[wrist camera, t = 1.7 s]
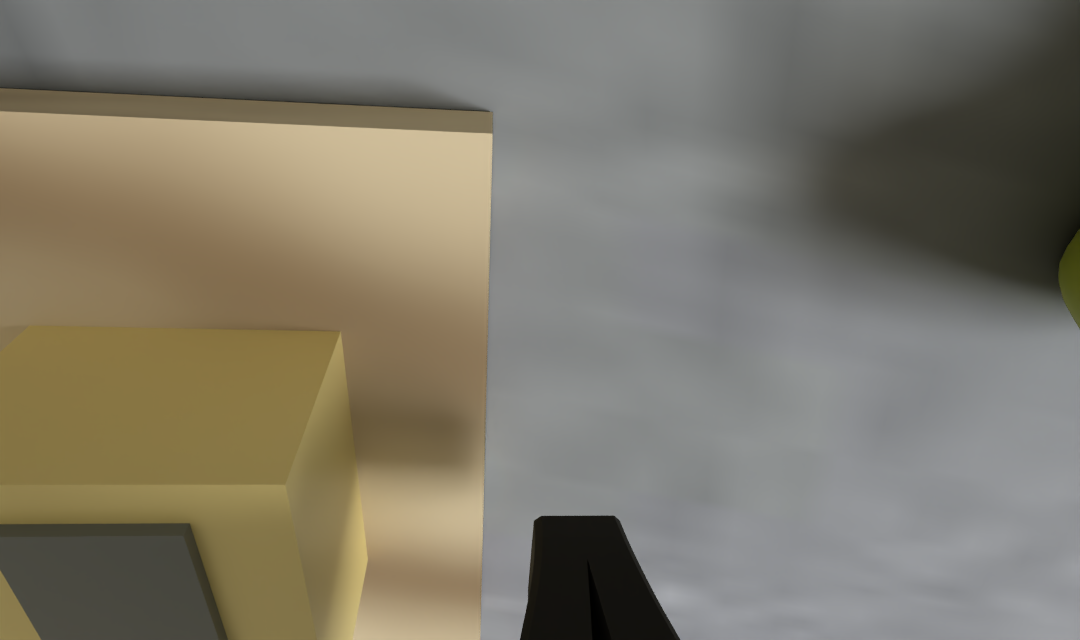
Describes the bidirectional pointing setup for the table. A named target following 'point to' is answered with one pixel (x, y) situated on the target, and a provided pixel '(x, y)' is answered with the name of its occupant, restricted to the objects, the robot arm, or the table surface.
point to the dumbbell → (1071, 277)
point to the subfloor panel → (287, 283)
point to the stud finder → (178, 486)
